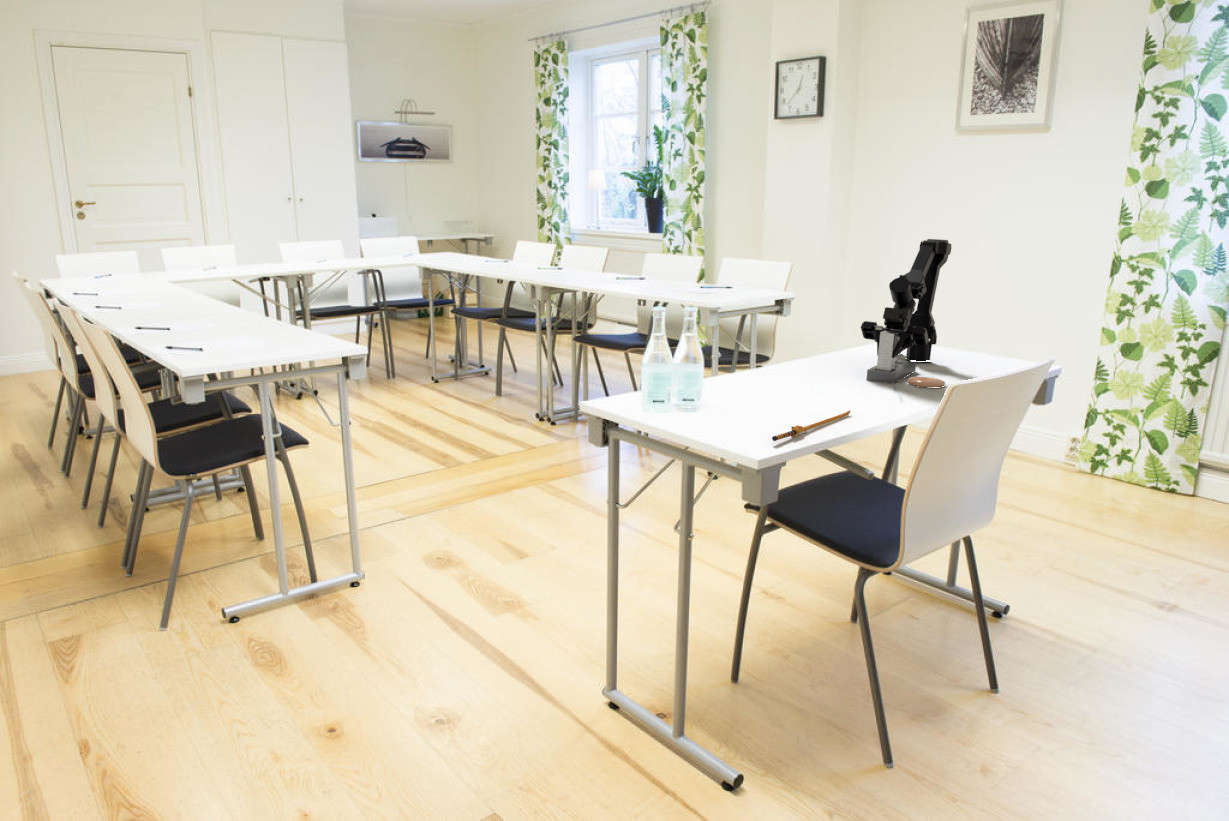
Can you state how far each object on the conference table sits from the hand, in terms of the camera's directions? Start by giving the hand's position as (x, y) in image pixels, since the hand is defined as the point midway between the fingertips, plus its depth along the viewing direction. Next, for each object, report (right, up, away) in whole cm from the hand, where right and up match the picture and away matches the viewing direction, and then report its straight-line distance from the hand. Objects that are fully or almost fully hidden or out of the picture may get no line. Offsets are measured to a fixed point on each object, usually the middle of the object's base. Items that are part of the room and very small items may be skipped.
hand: (885, 356), depth 248 cm
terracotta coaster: (+11, -8, -2) cm, 14 cm away
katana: (-32, -20, -48) cm, 61 cm away
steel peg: (+1, -7, +3) cm, 7 cm away
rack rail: (+4, -5, +8) cm, 10 cm away
